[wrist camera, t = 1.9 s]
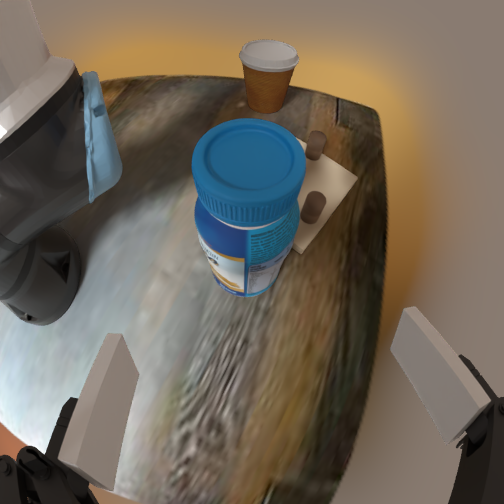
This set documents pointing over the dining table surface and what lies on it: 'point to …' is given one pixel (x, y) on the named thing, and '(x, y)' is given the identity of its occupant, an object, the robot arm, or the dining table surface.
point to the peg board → (319, 190)
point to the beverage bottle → (247, 201)
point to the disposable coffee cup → (267, 73)
